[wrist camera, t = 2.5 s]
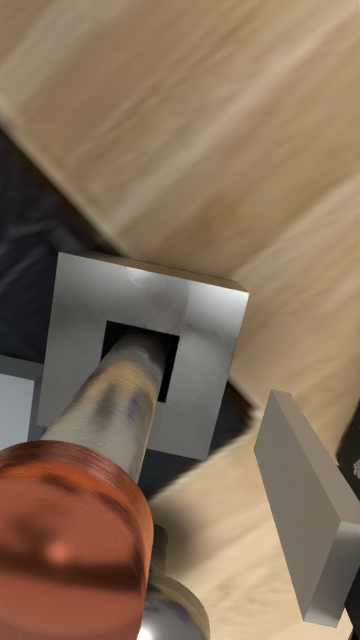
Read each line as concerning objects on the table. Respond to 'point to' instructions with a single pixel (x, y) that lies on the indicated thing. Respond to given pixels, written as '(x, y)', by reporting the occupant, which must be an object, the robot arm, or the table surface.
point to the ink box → (352, 449)
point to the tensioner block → (151, 313)
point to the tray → (19, 401)
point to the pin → (83, 506)
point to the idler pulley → (170, 602)
